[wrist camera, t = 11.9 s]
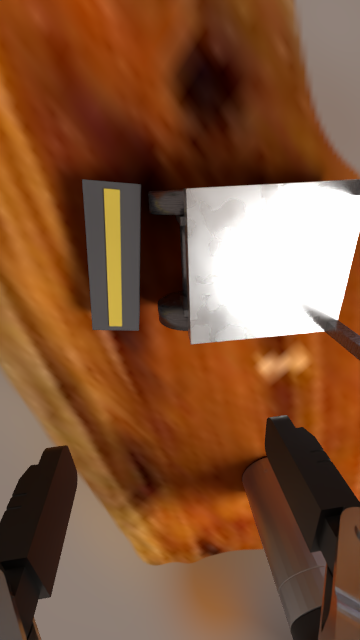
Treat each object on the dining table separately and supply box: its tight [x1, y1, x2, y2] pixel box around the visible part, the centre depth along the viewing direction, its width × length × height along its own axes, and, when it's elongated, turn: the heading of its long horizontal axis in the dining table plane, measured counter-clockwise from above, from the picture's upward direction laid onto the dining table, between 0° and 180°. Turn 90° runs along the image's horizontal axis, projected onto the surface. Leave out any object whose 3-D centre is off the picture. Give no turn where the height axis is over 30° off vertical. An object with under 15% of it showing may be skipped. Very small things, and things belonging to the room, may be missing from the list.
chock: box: [82, 179, 141, 331], centre depth 26 cm, size 13×4×4 cm, turn 175°
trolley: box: [148, 179, 360, 360], centre depth 19 cm, size 18×12×22 cm, turn 92°
